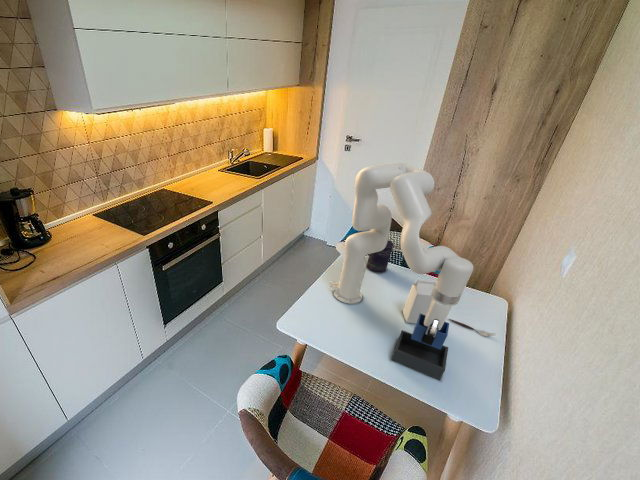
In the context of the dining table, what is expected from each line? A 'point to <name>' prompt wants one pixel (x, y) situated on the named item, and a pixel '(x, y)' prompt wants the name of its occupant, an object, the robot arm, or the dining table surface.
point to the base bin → (420, 356)
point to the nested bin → (421, 329)
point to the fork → (471, 328)
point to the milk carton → (418, 300)
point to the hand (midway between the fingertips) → (428, 335)
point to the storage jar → (380, 259)
